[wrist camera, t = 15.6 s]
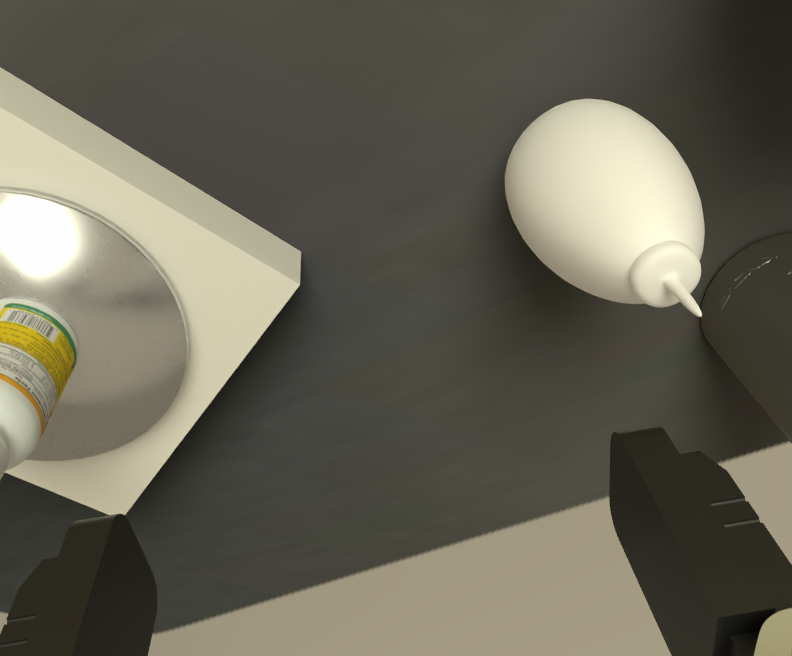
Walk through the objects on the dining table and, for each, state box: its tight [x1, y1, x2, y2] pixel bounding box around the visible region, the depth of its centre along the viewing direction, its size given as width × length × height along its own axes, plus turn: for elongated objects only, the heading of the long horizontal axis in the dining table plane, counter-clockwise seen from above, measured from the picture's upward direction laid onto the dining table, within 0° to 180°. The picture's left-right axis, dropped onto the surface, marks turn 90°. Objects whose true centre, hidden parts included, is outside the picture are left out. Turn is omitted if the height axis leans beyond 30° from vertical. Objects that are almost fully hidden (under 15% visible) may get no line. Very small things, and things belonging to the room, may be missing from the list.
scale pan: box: [0, 186, 189, 461], centre depth 39 cm, size 16×16×1 cm
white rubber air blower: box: [505, 99, 705, 317], centre depth 33 cm, size 8×8×18 cm
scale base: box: [0, 67, 301, 515], centre depth 41 cm, size 20×20×4 cm
